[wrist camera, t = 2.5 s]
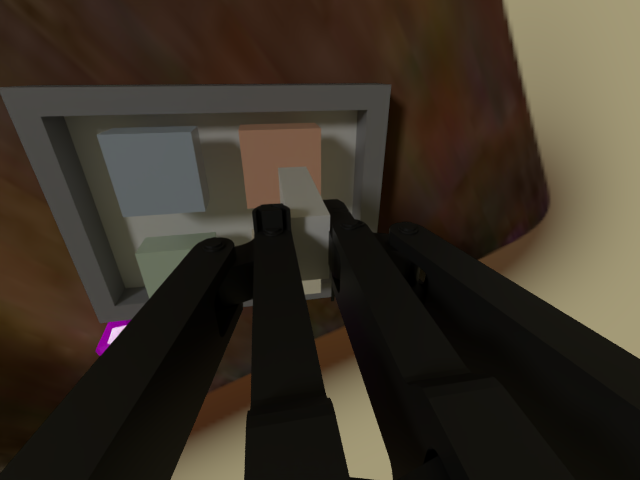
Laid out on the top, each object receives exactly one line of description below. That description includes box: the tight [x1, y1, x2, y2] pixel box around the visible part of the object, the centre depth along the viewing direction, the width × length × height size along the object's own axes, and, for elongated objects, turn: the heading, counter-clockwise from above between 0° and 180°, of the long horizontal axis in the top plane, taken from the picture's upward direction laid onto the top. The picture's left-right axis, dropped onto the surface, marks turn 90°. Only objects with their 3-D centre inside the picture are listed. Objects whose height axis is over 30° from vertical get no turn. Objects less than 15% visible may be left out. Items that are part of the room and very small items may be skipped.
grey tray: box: [0, 83, 391, 323], centre depth 26 cm, size 24×18×3 cm
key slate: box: [97, 126, 210, 217], centre depth 21 cm, size 5×5×2 cm
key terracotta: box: [238, 123, 321, 209], centre depth 22 cm, size 5×5×2 cm
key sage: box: [135, 232, 217, 299], centre depth 25 cm, size 5×5×2 cm
